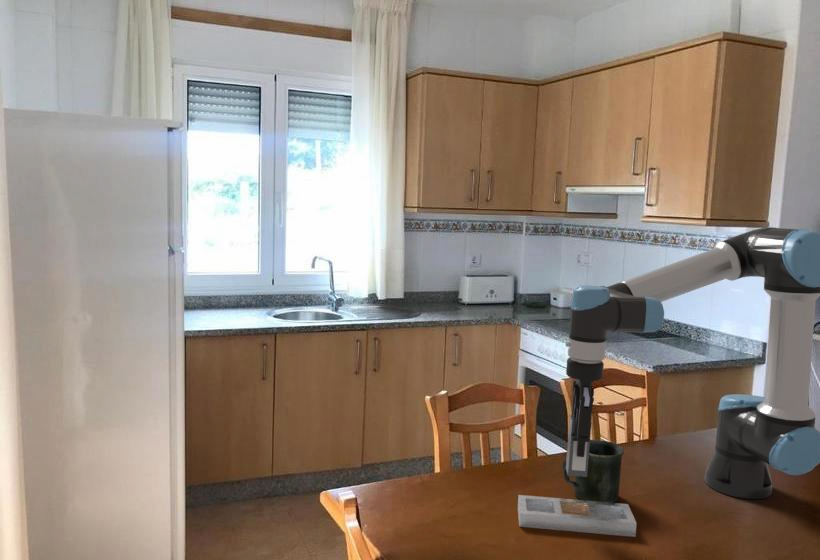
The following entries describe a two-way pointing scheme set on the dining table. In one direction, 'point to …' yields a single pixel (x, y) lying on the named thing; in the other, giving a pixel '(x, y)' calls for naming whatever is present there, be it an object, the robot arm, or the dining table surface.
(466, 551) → the dining table surface
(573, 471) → the steel peg
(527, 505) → the white peg holder tray
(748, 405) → the robot arm
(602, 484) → the mug
